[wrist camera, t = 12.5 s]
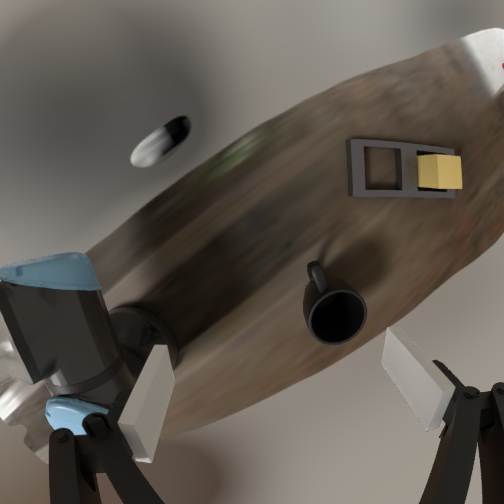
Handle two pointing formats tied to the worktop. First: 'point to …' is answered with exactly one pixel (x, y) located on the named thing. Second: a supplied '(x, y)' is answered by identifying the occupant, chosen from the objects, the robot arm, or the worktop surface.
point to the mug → (332, 308)
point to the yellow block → (439, 171)
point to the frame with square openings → (404, 169)
